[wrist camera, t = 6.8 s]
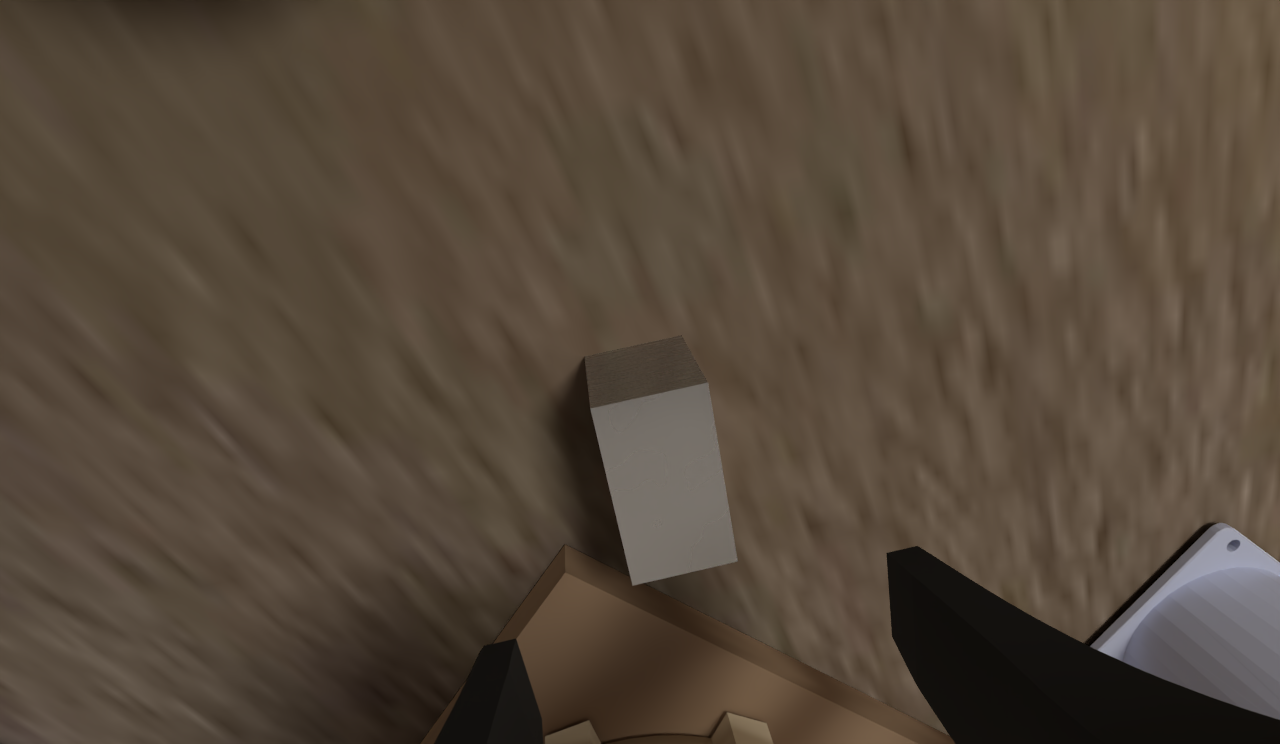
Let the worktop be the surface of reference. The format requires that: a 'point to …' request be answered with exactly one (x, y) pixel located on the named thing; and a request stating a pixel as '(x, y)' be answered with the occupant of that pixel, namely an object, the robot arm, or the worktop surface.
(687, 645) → the base board
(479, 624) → the worktop surface
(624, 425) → the link block
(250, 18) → the worktop surface
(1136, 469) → the worktop surface
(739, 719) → the sprocket wheel
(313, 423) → the worktop surface
